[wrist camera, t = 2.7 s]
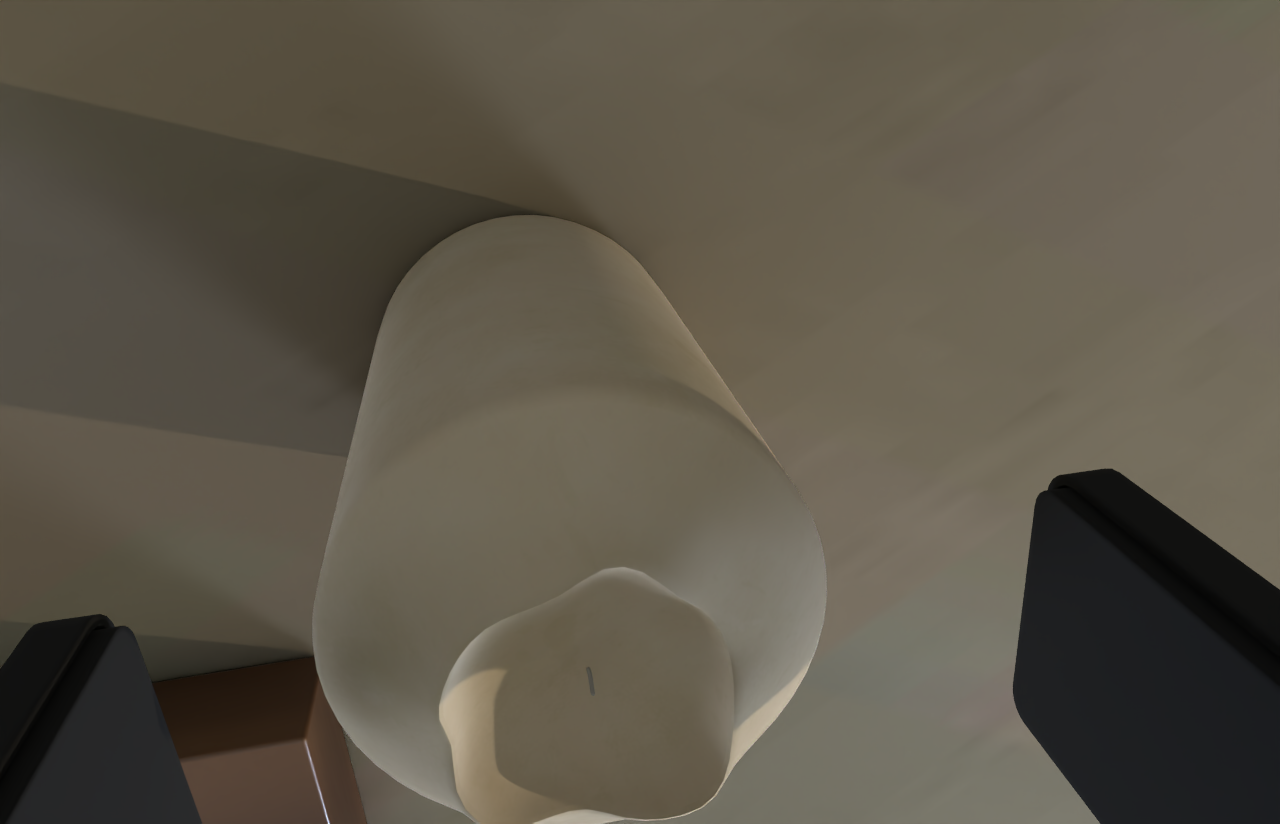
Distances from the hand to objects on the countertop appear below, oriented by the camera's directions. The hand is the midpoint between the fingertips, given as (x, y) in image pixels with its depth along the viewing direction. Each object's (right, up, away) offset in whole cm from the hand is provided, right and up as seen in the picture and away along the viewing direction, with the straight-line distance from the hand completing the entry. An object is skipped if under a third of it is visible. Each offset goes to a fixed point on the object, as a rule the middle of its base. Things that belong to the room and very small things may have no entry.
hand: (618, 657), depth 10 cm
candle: (-2, +4, +8) cm, 9 cm away
